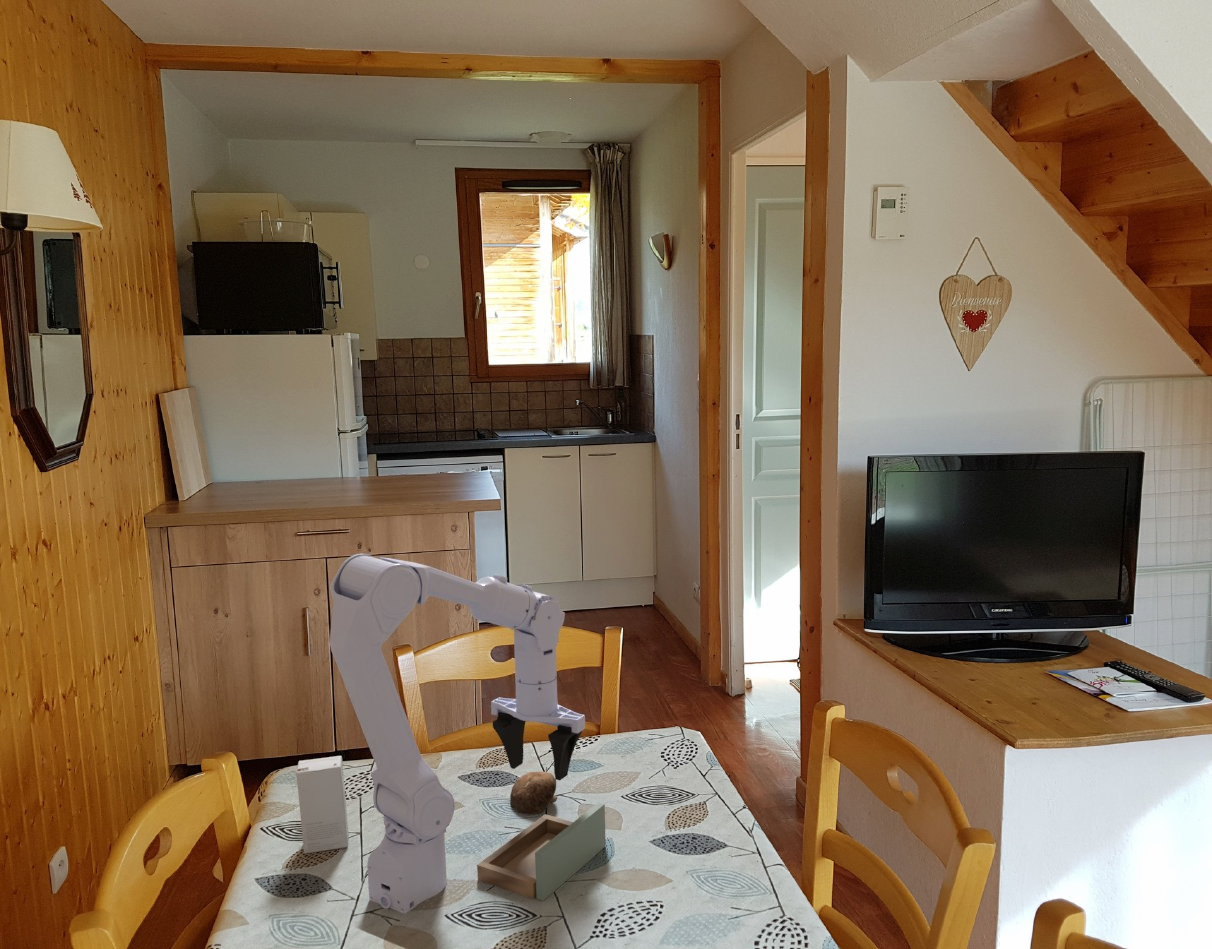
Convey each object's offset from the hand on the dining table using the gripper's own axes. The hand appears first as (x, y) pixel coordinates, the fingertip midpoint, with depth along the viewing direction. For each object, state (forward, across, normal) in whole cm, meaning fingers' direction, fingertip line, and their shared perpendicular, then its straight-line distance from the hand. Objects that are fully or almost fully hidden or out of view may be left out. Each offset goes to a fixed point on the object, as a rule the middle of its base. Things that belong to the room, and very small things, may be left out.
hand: (538, 771), depth 132 cm
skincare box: (+10, +25, +16) cm, 32 cm away
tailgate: (+8, -11, +8) cm, 15 cm away
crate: (+10, -5, +8) cm, 13 cm away
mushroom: (+10, +5, -6) cm, 12 cm away
